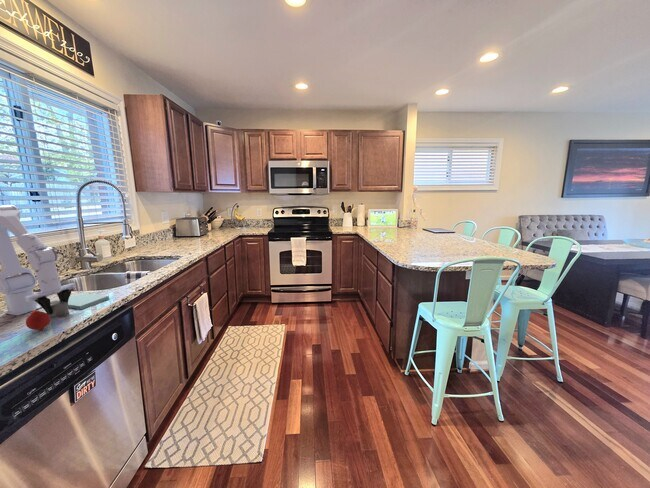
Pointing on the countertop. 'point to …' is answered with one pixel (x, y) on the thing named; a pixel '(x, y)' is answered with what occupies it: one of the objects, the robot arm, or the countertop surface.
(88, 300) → the board
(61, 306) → the connector
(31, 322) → the onion
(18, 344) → the countertop surface
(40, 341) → the countertop surface
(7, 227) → the robot arm
